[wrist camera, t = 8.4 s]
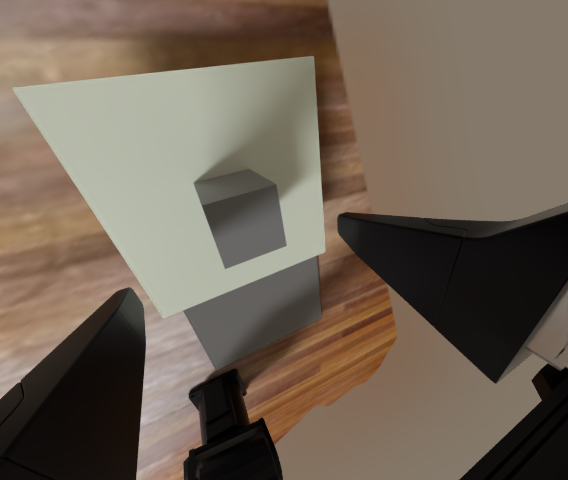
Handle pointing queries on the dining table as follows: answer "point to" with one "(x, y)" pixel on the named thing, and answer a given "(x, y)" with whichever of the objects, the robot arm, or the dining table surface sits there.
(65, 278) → the dining table surface
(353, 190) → the dining table surface
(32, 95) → the lid
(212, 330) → the mat
